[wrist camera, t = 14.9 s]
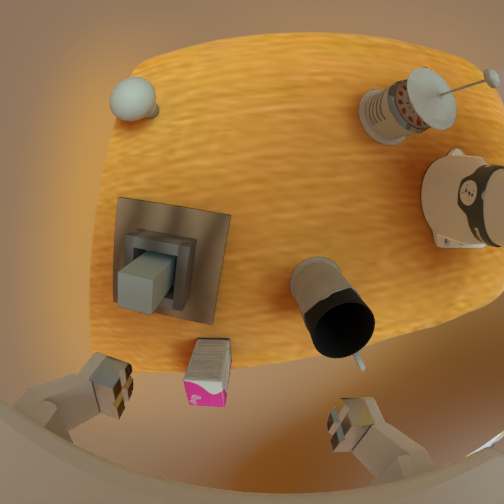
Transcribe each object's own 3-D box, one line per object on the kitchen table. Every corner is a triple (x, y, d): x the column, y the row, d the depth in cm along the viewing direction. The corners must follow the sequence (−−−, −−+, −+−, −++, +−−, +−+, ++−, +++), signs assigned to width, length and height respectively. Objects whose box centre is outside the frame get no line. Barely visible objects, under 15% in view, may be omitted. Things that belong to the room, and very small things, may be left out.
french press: (349, 124, 36) (454, 74, 12) (373, 71, 33) (464, 3, 9) (398, 157, 37) (519, 151, 13) (418, 103, 34) (524, 70, 10)
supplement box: (196, 337, 45) (182, 379, 34) (229, 337, 45) (224, 381, 34) (200, 362, 47) (188, 406, 36) (232, 363, 47) (227, 408, 36)
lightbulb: (166, 132, 36) (138, 117, 26) (131, 129, 36) (96, 116, 26) (175, 95, 35) (151, 70, 24) (140, 93, 35) (109, 71, 24)
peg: (179, 252, 40) (153, 280, 29) (176, 279, 41) (151, 315, 30) (152, 246, 40) (117, 272, 28) (150, 273, 41) (117, 306, 29)
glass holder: (328, 246, 41) (365, 280, 26) (361, 314, 44) (397, 364, 30) (279, 274, 42) (292, 322, 28) (318, 338, 45) (340, 396, 31)
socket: (230, 215, 40) (227, 221, 34) (213, 321, 44) (207, 341, 38) (120, 197, 39) (102, 200, 33) (115, 299, 43) (100, 314, 38)
